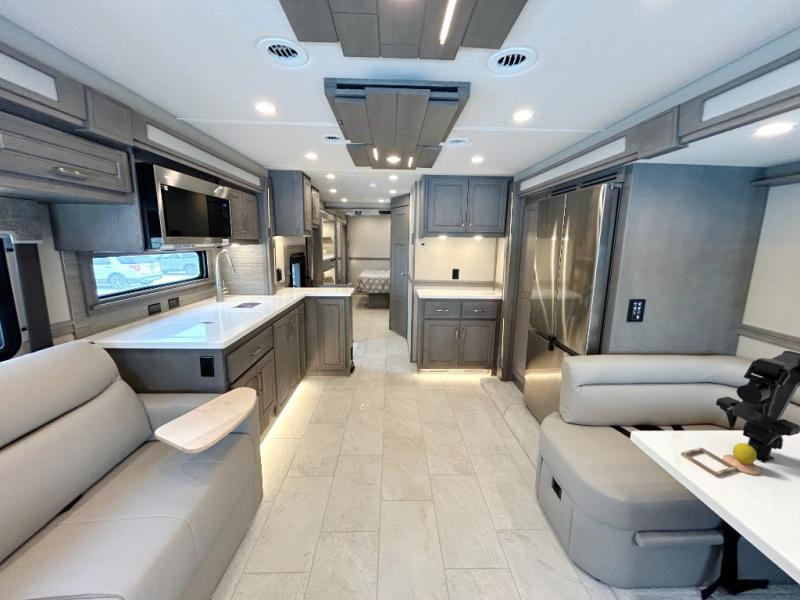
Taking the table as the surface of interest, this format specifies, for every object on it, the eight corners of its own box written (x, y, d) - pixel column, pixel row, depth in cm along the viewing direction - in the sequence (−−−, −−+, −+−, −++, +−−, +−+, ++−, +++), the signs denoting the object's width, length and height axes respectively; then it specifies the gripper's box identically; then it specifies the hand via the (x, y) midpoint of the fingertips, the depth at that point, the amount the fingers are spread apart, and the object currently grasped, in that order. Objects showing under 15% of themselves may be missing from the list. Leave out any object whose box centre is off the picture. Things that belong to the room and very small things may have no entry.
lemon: (757, 470, 106) (764, 450, 104) (738, 467, 107) (744, 448, 105) (743, 458, 111) (749, 439, 109) (725, 456, 112) (731, 437, 110)
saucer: (732, 454, 114) (733, 452, 114) (766, 472, 106) (767, 470, 106) (716, 458, 112) (717, 456, 112) (749, 477, 104) (750, 475, 103)
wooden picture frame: (700, 450, 117) (701, 447, 116) (736, 470, 107) (737, 467, 106) (680, 455, 114) (681, 452, 113) (716, 476, 104) (716, 473, 104)
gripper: (710, 385, 110) (700, 423, 113) (786, 415, 92) (771, 459, 96) (731, 382, 113) (720, 419, 116) (808, 410, 95) (793, 452, 99)
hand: (748, 436), depth 107 cm, fingers open, 9 cm apart
